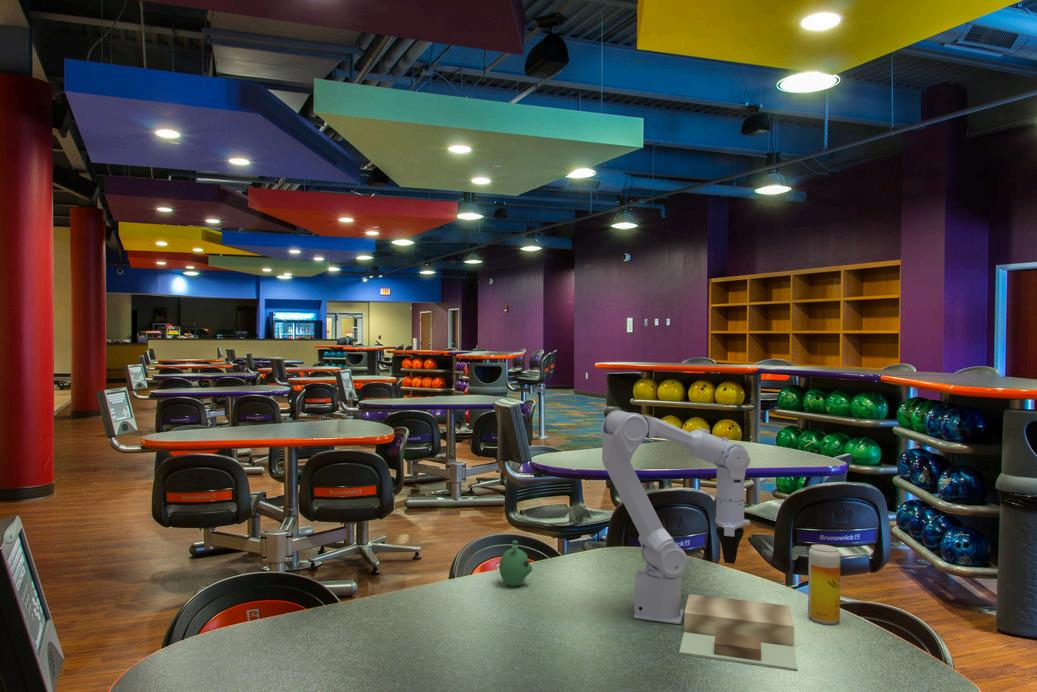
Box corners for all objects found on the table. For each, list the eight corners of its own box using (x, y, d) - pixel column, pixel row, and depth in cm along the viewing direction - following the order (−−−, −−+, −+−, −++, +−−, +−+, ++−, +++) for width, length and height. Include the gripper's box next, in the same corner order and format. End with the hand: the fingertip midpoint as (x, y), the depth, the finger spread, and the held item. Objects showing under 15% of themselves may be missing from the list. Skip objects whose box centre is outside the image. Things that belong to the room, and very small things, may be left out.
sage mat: (679, 654, 128) (679, 651, 128) (683, 634, 137) (683, 632, 137) (797, 671, 121) (797, 668, 121) (793, 648, 131) (793, 646, 131)
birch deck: (684, 633, 138) (684, 612, 138) (688, 612, 149) (689, 593, 149) (793, 647, 131) (793, 626, 132) (789, 625, 143) (789, 605, 143)
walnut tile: (715, 631, 133) (715, 642, 133) (714, 643, 127) (714, 654, 127) (760, 637, 130) (760, 648, 130) (761, 649, 124) (761, 661, 124)
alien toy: (532, 590, 162) (532, 546, 162) (498, 589, 162) (499, 546, 162) (531, 581, 169) (532, 539, 169) (499, 580, 169) (500, 538, 169)
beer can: (843, 626, 143) (843, 552, 143) (811, 623, 144) (812, 550, 144) (835, 616, 149) (836, 545, 149) (805, 613, 150) (806, 543, 150)
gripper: (750, 506, 143) (749, 574, 143) (749, 494, 157) (749, 555, 156) (714, 504, 145) (713, 570, 145) (716, 492, 159) (716, 552, 158)
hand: (729, 562), depth 151 cm, fingers closed
